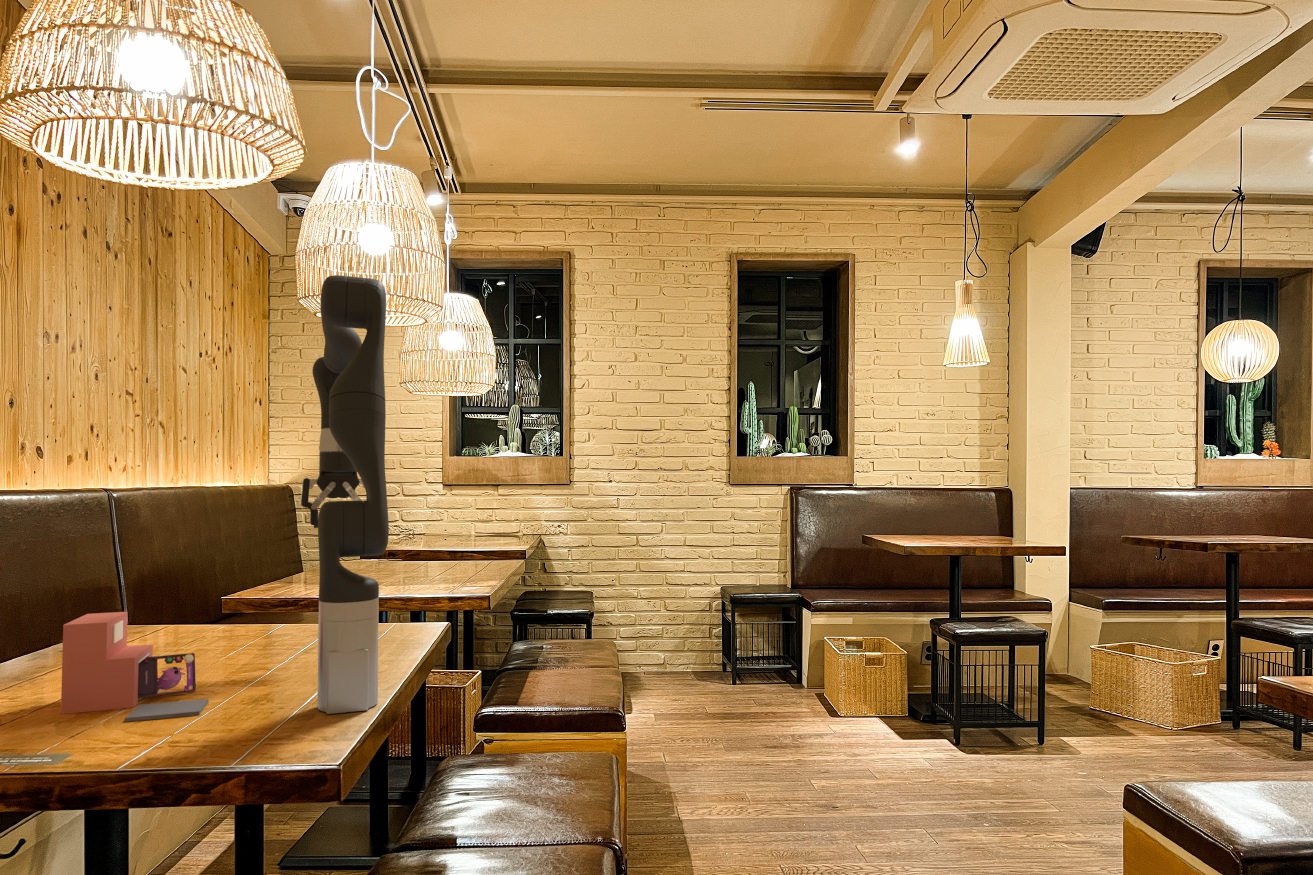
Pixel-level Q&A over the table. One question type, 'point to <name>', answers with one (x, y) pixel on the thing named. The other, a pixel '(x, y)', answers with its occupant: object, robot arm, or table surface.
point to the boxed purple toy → (164, 675)
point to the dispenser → (99, 664)
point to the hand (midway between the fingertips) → (337, 527)
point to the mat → (167, 710)
